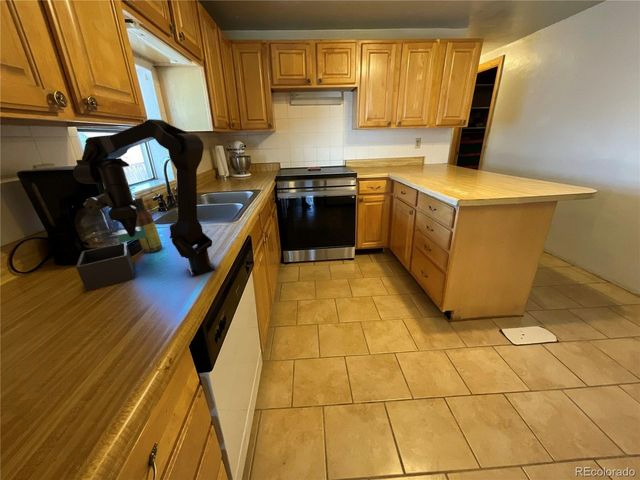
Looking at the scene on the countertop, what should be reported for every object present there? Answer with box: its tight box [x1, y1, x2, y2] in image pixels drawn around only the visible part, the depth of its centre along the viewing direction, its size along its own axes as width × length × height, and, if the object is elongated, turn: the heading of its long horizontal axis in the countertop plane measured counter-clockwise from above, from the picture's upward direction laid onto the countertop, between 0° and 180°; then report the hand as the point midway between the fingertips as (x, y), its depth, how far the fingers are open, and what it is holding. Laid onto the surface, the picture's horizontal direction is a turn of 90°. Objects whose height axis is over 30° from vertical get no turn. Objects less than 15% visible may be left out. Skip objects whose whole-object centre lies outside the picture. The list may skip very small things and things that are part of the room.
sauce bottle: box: [132, 196, 163, 253], centre depth 95 cm, size 7×6×20 cm
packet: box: [116, 226, 147, 244], centre depth 82 cm, size 7×5×2 cm
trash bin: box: [75, 242, 135, 292], centre depth 79 cm, size 13×11×8 cm
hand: (132, 234), depth 82 cm, fingers closed on packet, 5 cm apart
